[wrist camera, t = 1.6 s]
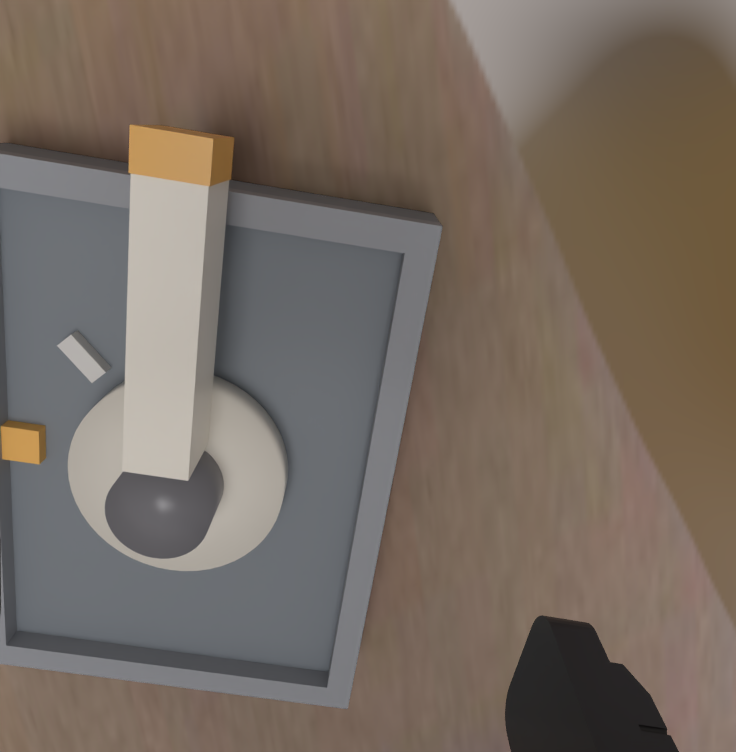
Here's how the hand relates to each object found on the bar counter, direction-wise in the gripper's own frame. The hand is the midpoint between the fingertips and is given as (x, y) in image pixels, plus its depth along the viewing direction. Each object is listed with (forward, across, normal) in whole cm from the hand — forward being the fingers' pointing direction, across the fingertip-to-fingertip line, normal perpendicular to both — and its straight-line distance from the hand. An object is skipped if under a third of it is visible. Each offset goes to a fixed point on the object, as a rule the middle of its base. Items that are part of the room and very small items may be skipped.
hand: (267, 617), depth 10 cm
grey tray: (+21, +5, +8) cm, 23 cm away
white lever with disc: (+18, +5, +4) cm, 19 cm away
